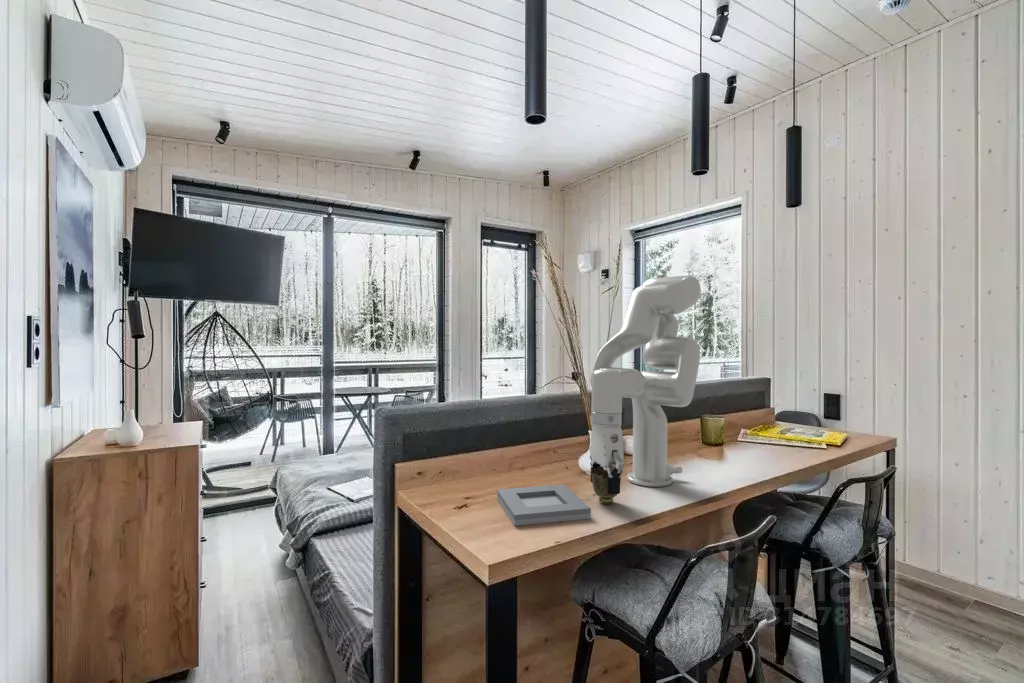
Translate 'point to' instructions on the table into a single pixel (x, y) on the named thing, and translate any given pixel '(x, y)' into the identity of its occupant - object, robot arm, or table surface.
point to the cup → (602, 485)
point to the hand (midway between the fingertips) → (604, 487)
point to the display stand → (542, 504)
